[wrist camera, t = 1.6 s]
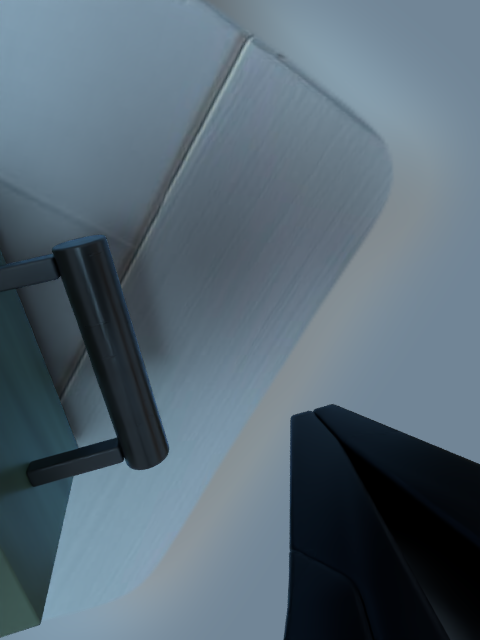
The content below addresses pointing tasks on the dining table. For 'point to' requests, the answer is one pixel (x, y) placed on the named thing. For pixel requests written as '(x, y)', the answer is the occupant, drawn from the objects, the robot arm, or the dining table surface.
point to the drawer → (61, 416)
